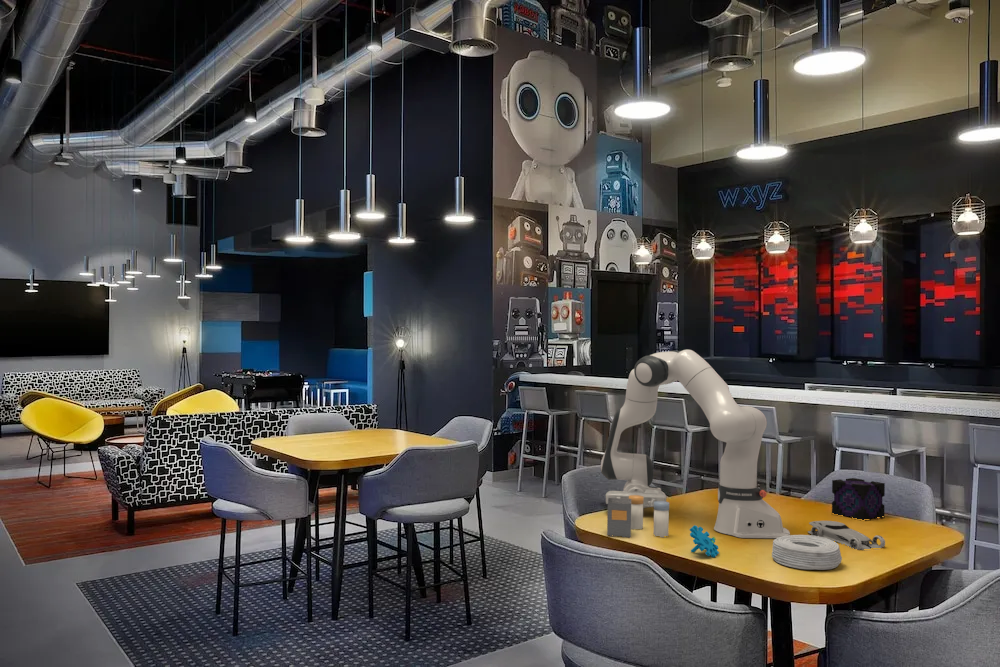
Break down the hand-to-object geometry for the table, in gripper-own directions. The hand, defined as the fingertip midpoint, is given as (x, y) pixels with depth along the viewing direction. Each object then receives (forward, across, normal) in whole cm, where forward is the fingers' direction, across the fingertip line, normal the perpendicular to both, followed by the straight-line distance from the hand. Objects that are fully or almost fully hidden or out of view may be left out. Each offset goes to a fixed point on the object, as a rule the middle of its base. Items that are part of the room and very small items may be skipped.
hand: (635, 503), depth 257 cm
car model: (+11, +62, +6) cm, 63 cm away
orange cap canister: (+12, 0, +6) cm, 13 cm away
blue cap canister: (+20, +8, +6) cm, 22 cm away
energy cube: (-28, +77, +6) cm, 82 cm away
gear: (+39, +19, +6) cm, 44 cm away
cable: (+41, +45, +6) cm, 61 cm away
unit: (+21, -5, +6) cm, 22 cm away
